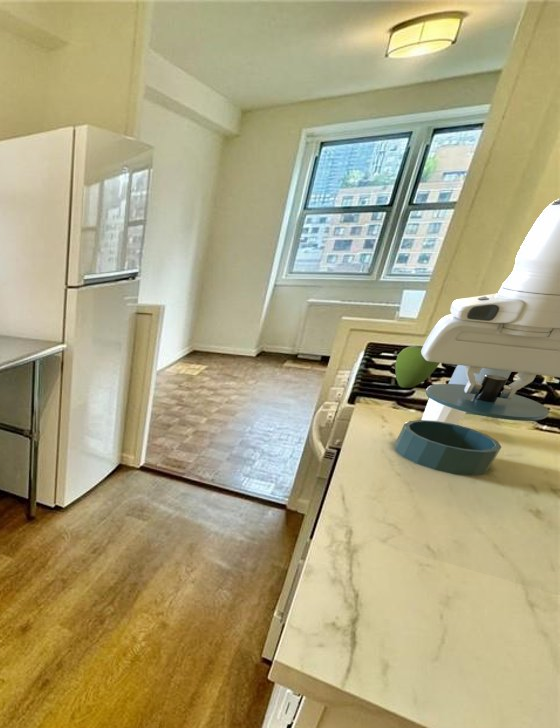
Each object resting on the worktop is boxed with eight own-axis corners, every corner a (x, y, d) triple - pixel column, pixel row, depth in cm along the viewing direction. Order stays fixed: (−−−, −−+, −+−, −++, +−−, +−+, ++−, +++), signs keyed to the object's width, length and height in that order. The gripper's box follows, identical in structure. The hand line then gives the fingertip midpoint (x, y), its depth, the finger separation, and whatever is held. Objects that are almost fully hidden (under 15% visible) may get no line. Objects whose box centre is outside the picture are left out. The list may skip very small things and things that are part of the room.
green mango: (429, 394, 124) (450, 351, 118) (387, 388, 128) (406, 346, 123) (423, 384, 130) (443, 342, 125) (384, 379, 134) (402, 338, 129)
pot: (477, 454, 96) (491, 430, 94) (493, 485, 86) (509, 459, 84) (390, 437, 103) (401, 414, 100) (396, 464, 93) (408, 439, 91)
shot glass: (461, 428, 107) (477, 399, 103) (451, 436, 103) (467, 406, 100) (422, 418, 112) (436, 389, 108) (411, 425, 108) (425, 396, 105)
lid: (529, 400, 82) (546, 372, 80) (559, 432, 72) (579, 401, 69) (418, 384, 89) (430, 358, 87) (430, 411, 79) (444, 382, 76)
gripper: (626, 313, 70) (571, 401, 77) (440, 300, 80) (405, 378, 87) (647, 322, 66) (586, 415, 72) (447, 306, 76) (410, 389, 82)
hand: (486, 395), depth 80 cm, fingers closed on lid, 2 cm apart
